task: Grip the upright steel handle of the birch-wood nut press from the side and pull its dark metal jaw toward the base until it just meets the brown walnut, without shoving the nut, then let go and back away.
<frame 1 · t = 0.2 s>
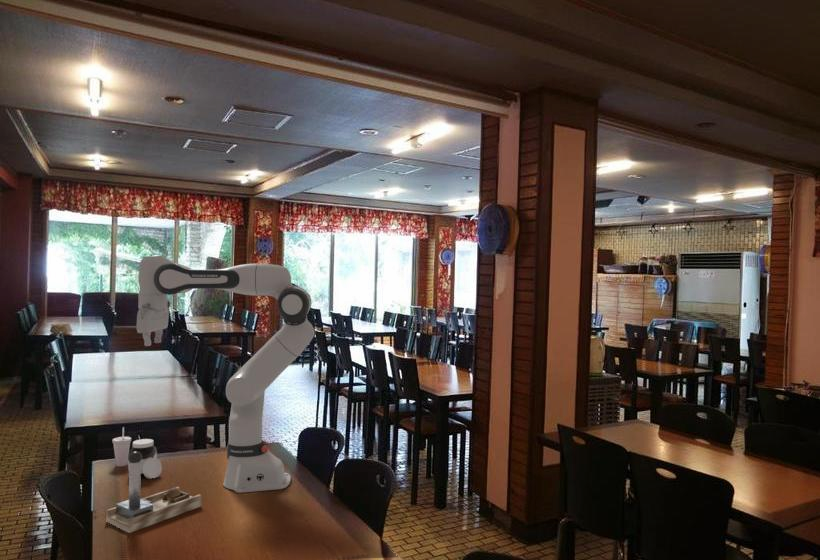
hand: (152, 344, 196), 48 cm above the table, tool pointing down, fingers open, 8 cm apart
smoothie: (121, 465, 216), on the table
press base: (153, 514, 172), on the table
spread jar: (146, 475, 206), on the table
walnut: (173, 494, 178), point 4 cm above the table, touching press base
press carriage: (136, 482, 168), point 11 cm above the table, slide at 0.0 cm
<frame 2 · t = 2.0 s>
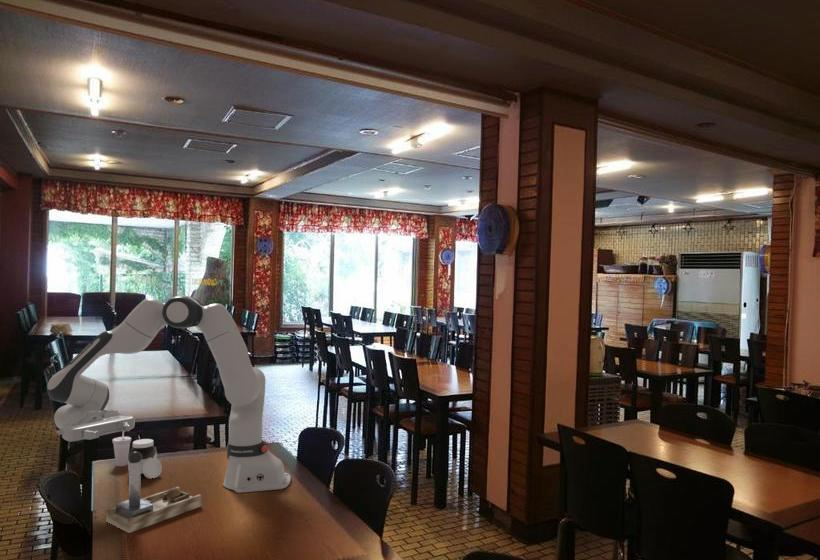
hand: (112, 431, 174), 24 cm above the table, tool horizontal, fingers open, 8 cm apart
nothing on the table moved.
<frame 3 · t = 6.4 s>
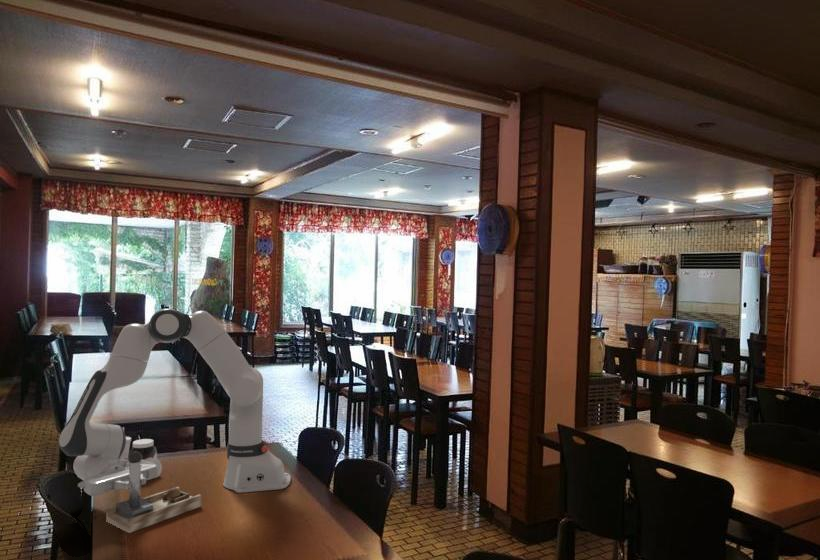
hand: (136, 484, 167), 11 cm above the table, tool horizontal, fingers closed on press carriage, 3 cm apart
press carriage: (136, 482, 168), point 11 cm above the table, slide at 0.0 cm, touching gripper
everything else where it was.
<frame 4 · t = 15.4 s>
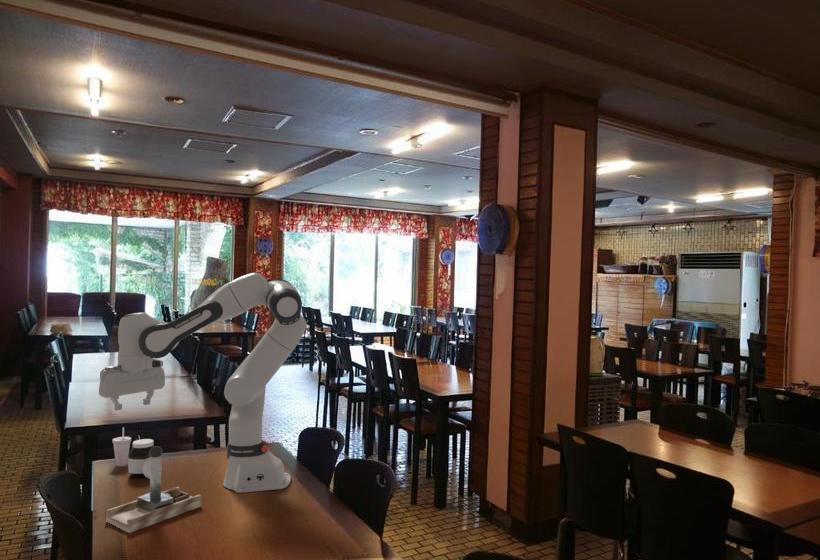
hand: (132, 407, 184), 29 cm above the table, tool pointing down, fingers open, 8 cm apart
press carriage: (156, 476, 173), point 11 cm above the table, slide at 6.5 cm
everything else where it was.
at the end: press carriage slide at 6.5 cm; walnut moved 0.1 cm from its start; the gripper is holding nothing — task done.
